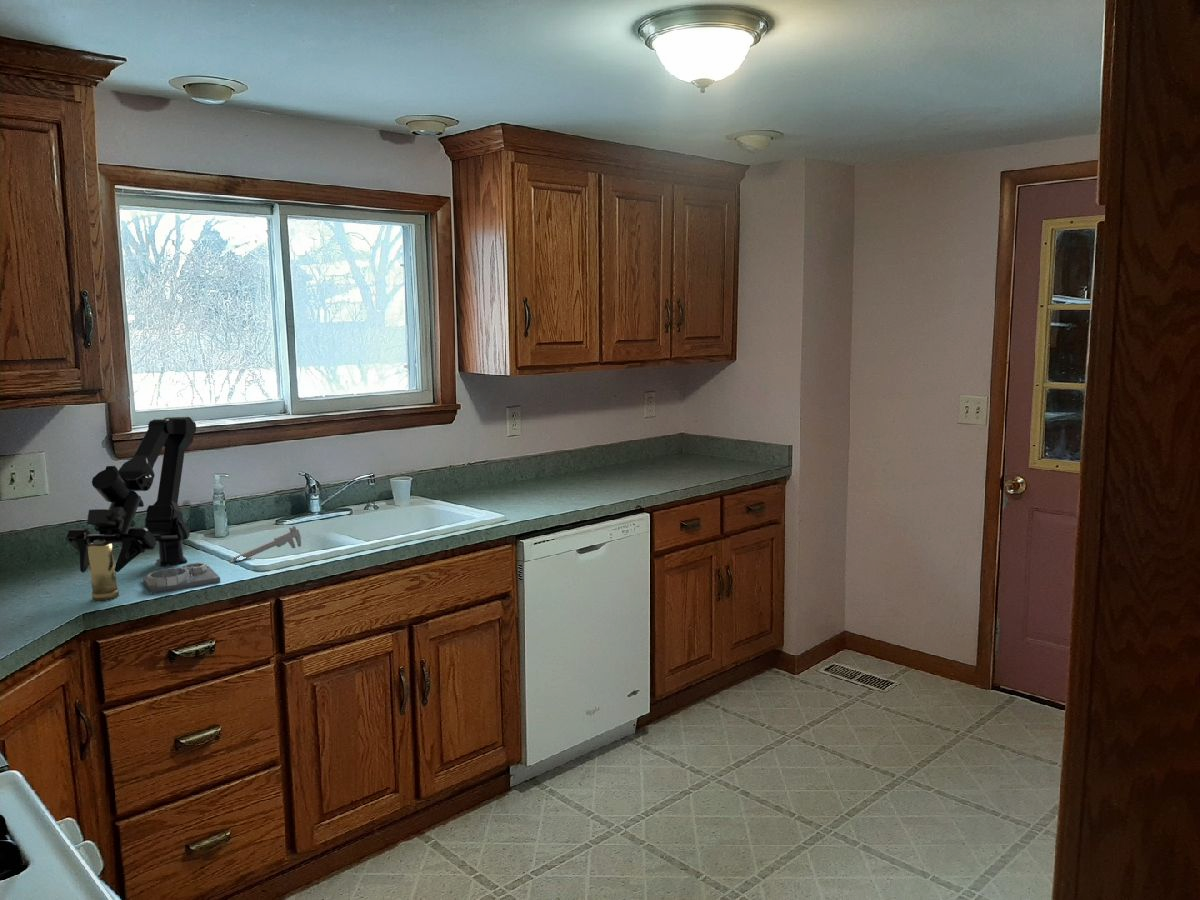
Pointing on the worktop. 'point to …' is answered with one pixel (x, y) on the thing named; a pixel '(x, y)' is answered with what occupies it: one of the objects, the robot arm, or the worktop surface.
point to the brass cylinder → (102, 570)
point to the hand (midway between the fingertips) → (99, 571)
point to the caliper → (274, 543)
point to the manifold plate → (189, 583)
